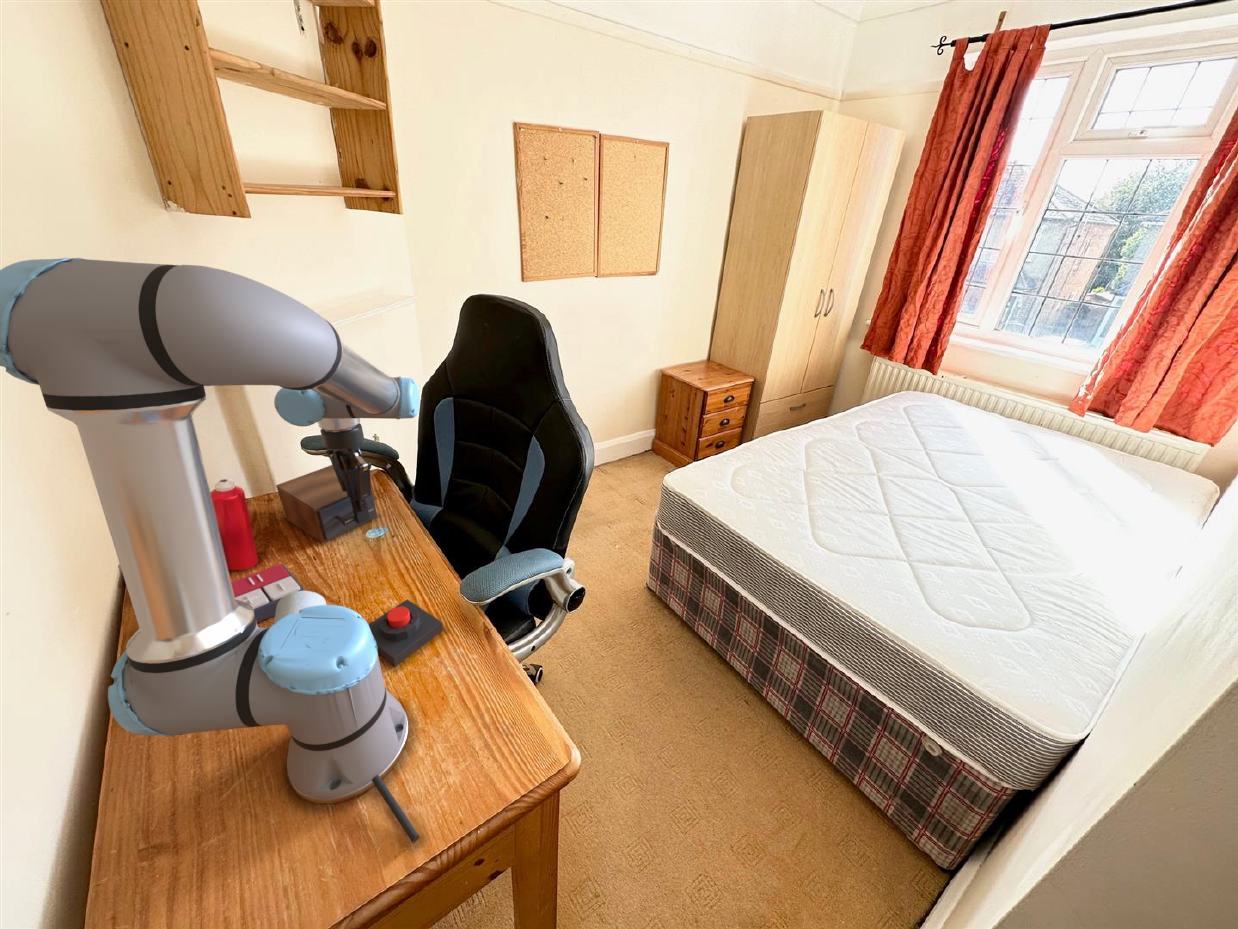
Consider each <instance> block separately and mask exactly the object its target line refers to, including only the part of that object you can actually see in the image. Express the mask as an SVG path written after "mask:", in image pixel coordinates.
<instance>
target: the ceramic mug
mask: <svg viewBox="0 0 1238 929" xmlns="http://www.w3.org/2000/svg"><path fill="white" fill-rule="evenodd" d="M318 605H327V601H326V599H325V598H324V596H323V595H321V594H319V593H318V592H315V591H310V590H304V591H296V592H292V593H290V594H287V595H285V596H284V597H283V598H281V599H280V601H279V602H278V604H277V607H276V613H275V615H274V618H273V624H274V623H276V622H277V621H278V620H280V619H281V618H283V617H285V616H286V615H288V614H294V615H296V614H299V611H300V610H301V609H304V608H307V607H312V606H318Z"/></svg>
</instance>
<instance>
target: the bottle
mask: <svg viewBox="0 0 1238 929" xmlns="http://www.w3.org/2000/svg"><path fill="white" fill-rule="evenodd" d="M210 494H211V498H212V502H213V506H214V511H215V515H216V519H217V524H218V528H219V532H220V536H221V541H222V545H223V549H224V554H225V558H226V562H227V566H228V570H230V571H243V570H247V569H250V568H252V567H254V566H256V565H257V563H258V562H259V559H260V558H259V554H258V548H257V545H256V540H255V535H254V530H253V526H252V521H251V517H250V512H249V507H248V503H247V498H246V494H245V490H244V489H243V487H241V486H238V485H235V482H234V481H232V480H228V478H227V479H226V478H223V479H222V478H221V479H219V480H218V482H217V483H215V484H214V489H212V490H210Z"/></svg>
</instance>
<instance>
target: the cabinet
mask: <svg viewBox="0 0 1238 929" xmlns="http://www.w3.org/2000/svg"><path fill="white" fill-rule="evenodd" d="M275 486H276V489H277V492H278V496H279V499H280V500H279V501H280V503H281V506H282V509H283V513H284V515H285V519H286V520H287V521H288V522H290V523H291V524H293V525H295V526H296V527H298V528H299V529H300V530H302V531H304V532H305V533H306V534H308V535H310V536H311V537H313V538H314V539H315V540H317V541H319V542H320V543H321V544H324V543H326V542H328V541H330V540H331V539H329V540H326V539H324V535H323V531H322V528H321V524H320V520H319V517H318V513H317V509H319V508H322V507H324V506H326V505H329V504H331V503H333V502H336V501H338V500H340V499H343V498H345V497H347V496H348V495H347V492H346V491H345V492H343V491H342V489H341V486H340V483H339V481H338V478H337V476H336V473H335V470H334V468H333V465H332V464H331V465H328V466H325V467H322V468H320V469H317V470H314V471H311V472H308V473H305V474H303V475H301V476H298V477H295V478H292V479H289V480H287V481H284V482H280V483H279V484H276V485H275ZM376 518H377V517H375V518H373V519H376ZM373 519H372V520H373ZM356 527H358V526H356ZM356 527H354V528H352V529H350V530H353V529H355V528H356ZM350 530H348V531H346V532H344V533H343V534H345V533H347V532H349V531H350Z"/></svg>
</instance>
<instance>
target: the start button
mask: <svg viewBox="0 0 1238 929" xmlns="http://www.w3.org/2000/svg"><path fill="white" fill-rule="evenodd" d="M395 607H396V606H395ZM395 607H393V608H394V609H393V608H391V609H392V610H391V609H390V610H391V611H390V610H389V611H390V612H389V613H388V615H387V618H388V623H389V626H390V627H392V628H401V627H404V626H406V625H407V624H408V623H409V622H410V613H409V610H408V608H406V607H396V608H395Z"/></svg>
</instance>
